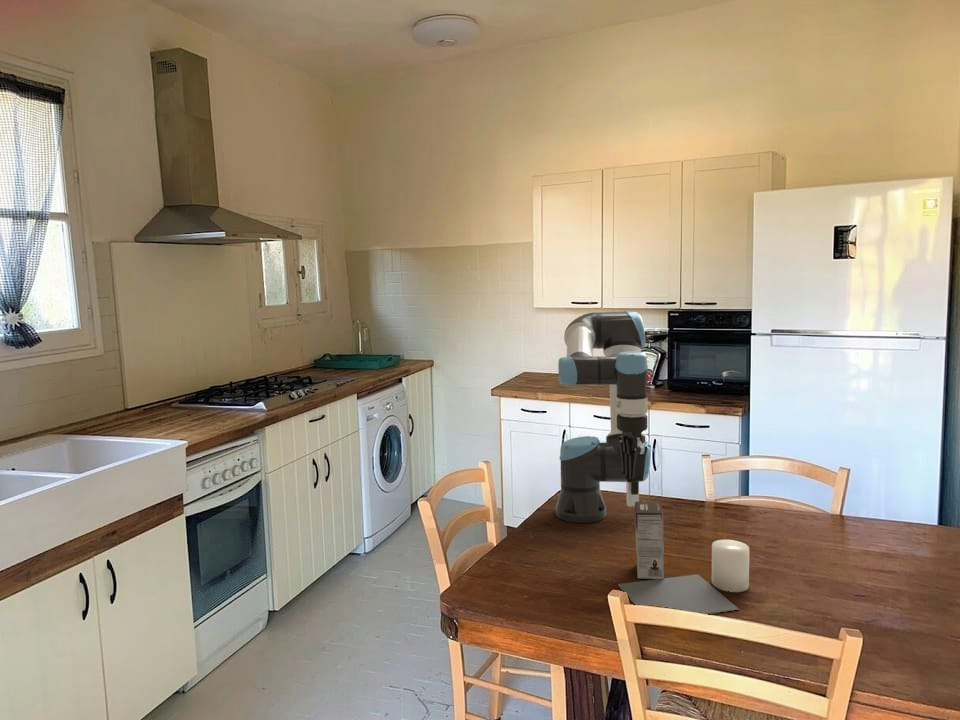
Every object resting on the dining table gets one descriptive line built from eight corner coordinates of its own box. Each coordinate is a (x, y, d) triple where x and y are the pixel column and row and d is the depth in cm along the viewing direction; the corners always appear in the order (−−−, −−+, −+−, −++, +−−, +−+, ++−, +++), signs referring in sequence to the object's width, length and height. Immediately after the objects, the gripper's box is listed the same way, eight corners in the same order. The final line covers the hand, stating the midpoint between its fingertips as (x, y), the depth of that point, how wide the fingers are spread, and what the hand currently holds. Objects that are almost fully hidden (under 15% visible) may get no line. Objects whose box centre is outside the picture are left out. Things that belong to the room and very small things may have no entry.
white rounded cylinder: (705, 578, 153) (705, 541, 152) (736, 574, 154) (736, 538, 153) (723, 594, 145) (723, 555, 144) (756, 589, 146) (756, 551, 145)
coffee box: (635, 563, 162) (634, 500, 161) (662, 564, 160) (661, 501, 159) (637, 578, 153) (635, 512, 152) (665, 580, 152) (663, 512, 150)
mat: (618, 585, 151) (618, 584, 150) (697, 575, 154) (697, 574, 154) (650, 622, 134) (650, 620, 134) (738, 610, 137) (738, 608, 137)
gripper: (607, 410, 168) (609, 498, 171) (628, 420, 155) (629, 515, 158) (635, 408, 169) (636, 496, 172) (657, 418, 156) (658, 512, 159)
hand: (632, 505), depth 165 cm, fingers closed
